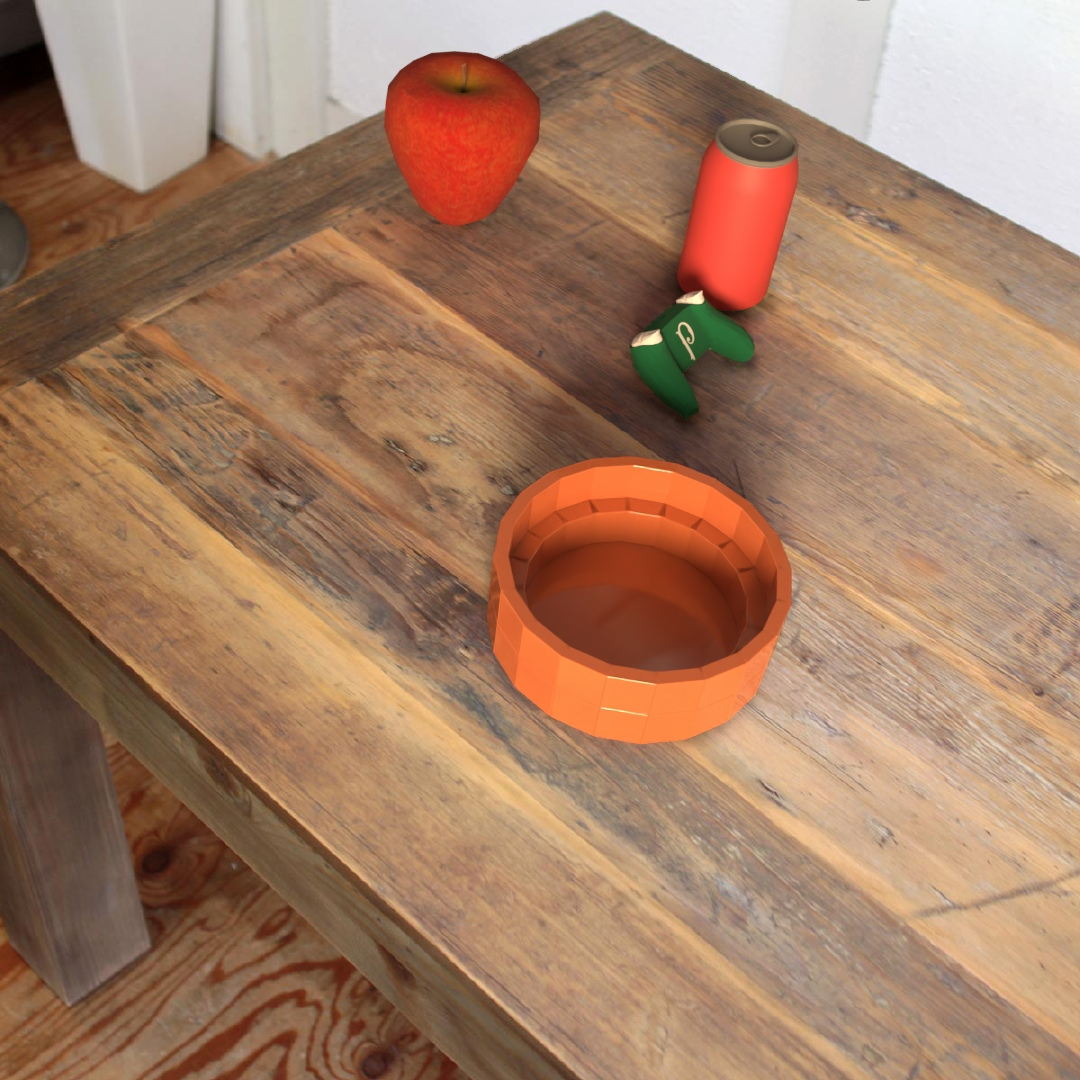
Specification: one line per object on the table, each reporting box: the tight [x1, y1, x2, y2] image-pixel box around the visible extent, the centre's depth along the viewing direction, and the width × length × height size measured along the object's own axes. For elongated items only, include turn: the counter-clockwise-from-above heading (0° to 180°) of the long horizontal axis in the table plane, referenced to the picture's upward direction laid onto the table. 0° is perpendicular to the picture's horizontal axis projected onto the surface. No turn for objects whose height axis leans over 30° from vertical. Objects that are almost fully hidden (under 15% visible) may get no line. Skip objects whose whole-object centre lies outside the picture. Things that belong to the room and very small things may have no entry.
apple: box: [383, 50, 542, 227], centre depth 95 cm, size 11×11×12 cm
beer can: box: [676, 117, 800, 312], centre depth 92 cm, size 7×7×12 cm
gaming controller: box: [629, 290, 756, 420], centre depth 88 cm, size 9×4×6 cm
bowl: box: [485, 455, 793, 745], centre depth 72 cm, size 16×16×6 cm
